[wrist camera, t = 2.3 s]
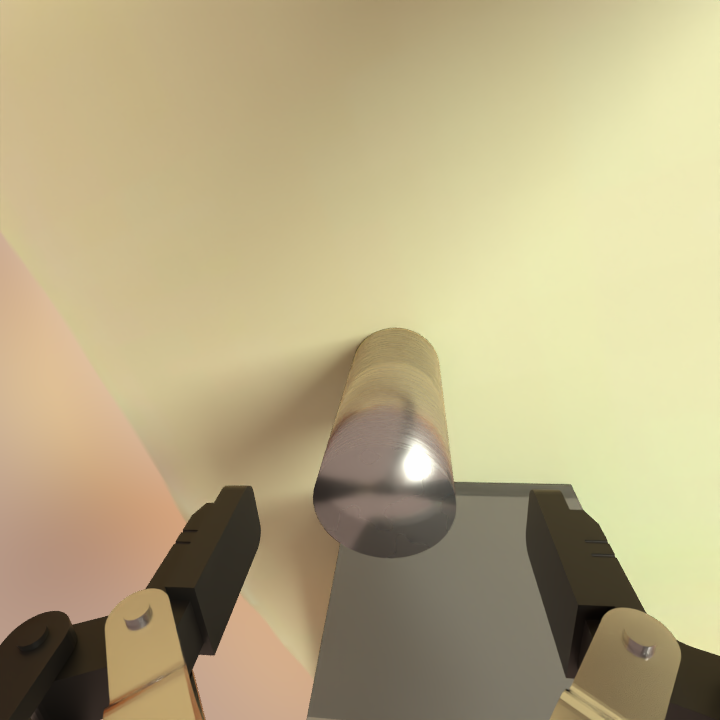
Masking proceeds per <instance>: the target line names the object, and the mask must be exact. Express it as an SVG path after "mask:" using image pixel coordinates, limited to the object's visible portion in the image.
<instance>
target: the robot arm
mask: <svg viewBox="0 0 720 720" xmlns="http://www.w3.org/2000/svg"><path fill="white" fill-rule="evenodd" d="M260 534H261V528H260V522H259V517H258V512H257V507H256V502H255V497H254V492H253V489H252V487H251V486H225V487H224V488H223V489H222V490H221V492H220V494H219V495H218V497H217V499H216V501H215V502H214V503H206V504H205V505H204V506H203V507H201V508H200V509H199V510H198V511H197V512H196V513H194V514H193V515H192V516H191V518H190V519H189V521H188V523H187V524H186V526H185V527H184V529H183V533H181V534H180V535H179V537H178V539H177V540H176V544H174V545H173V547H172V548H171V549H170V551H169V553H168V554H167V556H166V557H165V559H164V561H163V562H162V564H161V565H160V567H159V568H158V570H157V572H156V573H155V575H154V576H153V578H152V579H151V581H150V583H149V584H148V586H147V587H146V589H144V590H141V591H138V592H135V593H133V594H131V595H129V596H128V597H126V598H125V599H124V600H122V601H121V602H120V603H119V604H118V605H117V606H116V607H115V608H114V609H113V610H112V611H111V613H110V615H109V616H105V617H102V618H98V619H94V620H90V621H86V622H82V623H78V624H74V625H72V624H71V621H70V619H69V617H68V616H67V615H66V614H65V613H63V612H60V611H50V612H45V613H42V614H39V615H37V616H35V617H32V618H31V619H29V620H27V621H25V622H24V623H23V624H21V625H20V626H18V627H17V628H16V629H15V630H14V631H12V632H11V634H9V636H8V637H7V638H6V639H5V640H4V641H3V642H2V644H1V645H0V720H101V719H103V720H205V715H204V711H203V708H202V703H201V699H200V695H199V692H198V687H197V683H196V679H195V675H194V672H193V666H194V664H195V662H196V660H197V657H198V655H215V653H216V650H217V648H218V645H219V643H220V640H221V638H222V635H223V633H224V631H225V628H226V625H227V623H228V621H229V618H230V616H231V613H232V611H233V608H234V606H235V603H236V601H237V598H238V596H239V593H240V591H241V588H242V586H243V584H244V581H245V579H246V576H247V574H248V571H249V569H250V566H251V564H252V561H253V559H254V556H255V554H256V551H257V549H258V546H259V542H260ZM526 546H527V552H528V556H529V560H530V563H531V566H532V569H533V573H534V576H535V579H536V582H537V586H538V589H539V592H540V596H541V599H542V602H543V605H544V609H545V612H546V615H547V618H548V622H549V625H550V628H551V631H552V635H553V638H554V641H555V644H556V648H557V651H558V654H559V657H560V661H561V664H562V667H563V670H564V674H565V677H566V678H571V679H574V681H573V683H572V685H571V687H570V689H569V690H568V689H565V690H564V691H563V693H562V695H561V696H560V698H559V700H558V702H557V705H556V707H555V709H554V711H553V713H552V715H551V717H550V719H549V720H720V656H718V655H715V654H712V653H709V652H706V651H703V650H699V649H696V648H693V647H691V646H688V645H686V644H684V643H681V642H679V641H678V640H676V639H675V637H674V636H673V634H672V633H671V632H670V631H669V630H668V629H667V628H666V627H665V626H664V625H663V624H662V623H661V622H659V621H658V620H657V619H655V618H654V617H652V616H650V615H648V614H647V613H646V612H645V610H644V608H643V606H642V604H641V603H640V601H639V599H638V597H637V595H636V593H635V591H634V589H633V588H632V586H631V584H630V582H629V580H628V578H627V576H626V574H625V573H624V571H623V569H622V567H621V565H620V563H619V561H618V560H617V558H615V554H614V552H613V550H612V548H611V546H610V545H609V544H608V543H607V539H606V537H605V535H604V533H603V531H602V530H601V528H600V526H599V524H598V523H597V522H596V521H595V520H594V519H592V518H591V517H590V516H589V515H588V514H587V513H586V512H585V511H584V510H570V509H569V507H568V504H567V502H566V500H565V498H564V496H563V494H562V492H561V491H560V490H531V491H530V494H529V502H528V513H527V524H526Z"/></svg>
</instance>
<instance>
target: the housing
mask: <svg viewBox="0 0 720 720" xmlns="http://www.w3.org/2000/svg"><path fill="white" fill-rule="evenodd" d="M454 488H455V496H456V516H455V519H454V522H453V524H452V526H451V528H450V530H449V531H448V533H447V534H446V536H445V537H444V538H443V539H442V540H441V541H440V542H438V543H437V544H436V545H435V546H433V547H431V548H430V549H428V550H426V551H423V552H421V553H419V554H415V555H412V556H407V557H401V558H379V557H373V556H368V555H365V554H361V553H358V552H356V551H353V550H351V549H349V548H347V547H345V546H344V545H342V544H341V543H340V548H339V553H338V558H337V563H336V569H335V574H334V579H333V584H332V589H331V595H330V600H329V605H328V610H327V616H326V621H325V626H324V631H323V636H322V642H321V647H320V652H319V657H318V662H317V668H316V673H315V678H314V684H313V689H312V694H311V699H310V704H309V709H308V715H307V720H549V719H550V717H551V715H552V713H553V711H554V709H555V707H556V705H557V702H558V700H559V698H560V696H561V695H562V693H563V691H564V690H565V689H568V690H569V689H570V687H571V685H572V683H573V681H574V679H571V678H566V677H565V674H564V670H563V667H562V664H561V661H560V657H559V654H558V651H557V648H556V644H555V641H554V638H553V635H552V631H551V628H550V625H549V622H548V618H547V615H546V612H545V609H544V605H543V602H542V599H541V596H540V592H539V589H538V586H537V582H536V579H535V576H534V573H533V569H532V566H531V563H530V560H529V556H528V552H527V546H526V524H527V513H528V502H529V494H530V491H531V490H560V491H561V492H562V494H563V496H564V498H565V500H566V502H567V504H568V507H569V509H570V510H583V509H582V506H581V504H580V502H579V500H578V498H577V496H576V494H575V492H574V490H573V488H572V486H571V485H564V484H515V483H466V482H454Z"/></svg>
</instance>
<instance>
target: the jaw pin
mask: <svg viewBox="0 0 720 720" xmlns="http://www.w3.org/2000/svg"><path fill="white" fill-rule="evenodd" d="M313 504H314V508H315V512H316V515H317V517H318V519H319V521H320V523H321V525H322V526H323V527H324V529H325V530H326V531H327V532H328V533H329V534H330V535H331V536H332V537H333V538H334V539H335V540H337V541H338V542H339V543H341V544H342V545H344V546H345V547H347V548H349V549H351V550H353V551H356V552H358V553H361V554H365V555H368V556H373V557H379V558H401V557H407V556H412V555H415V554H419V553H421V552H423V551H426V550H428V549H430V548H431V547H433V546H435V545H436V544H437V543H438V542H440V541H441V540H442V539H443V538H444V537H445V536H446V534H447V533H448V531H449V530H450V528H451V526H452V524H453V522H454V519H455V516H456V496H455V488H454V480H453V472H452V464H451V455H450V447H449V439H448V431H447V423H446V414H445V406H444V398H443V390H442V382H441V374H440V365H439V360H438V356H437V353H436V351H435V350H434V348H433V346H432V345H431V344H430V343H429V342H428V341H427V340H426V339H425V338H424V337H423V336H421V335H419V334H418V333H416V332H414V331H411V330H408V329H403V328H388V329H383V330H380V331H377V332H375V333H373V334H372V335H370V336H369V337H367V338H366V339H365V340H364V341H363V342H362V343H361V344H360V346H359V347H358V349H357V351H356V353H355V356H354V359H353V363H352V366H351V369H350V372H349V376H348V379H347V382H346V386H345V389H344V392H343V395H342V399H341V402H340V405H339V408H338V412H337V415H336V418H335V422H334V425H333V428H332V431H331V435H330V438H329V441H328V444H327V448H326V451H325V454H324V458H323V461H322V464H321V467H320V471H319V474H318V477H317V481H316V484H315V487H314V493H313Z"/></svg>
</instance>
